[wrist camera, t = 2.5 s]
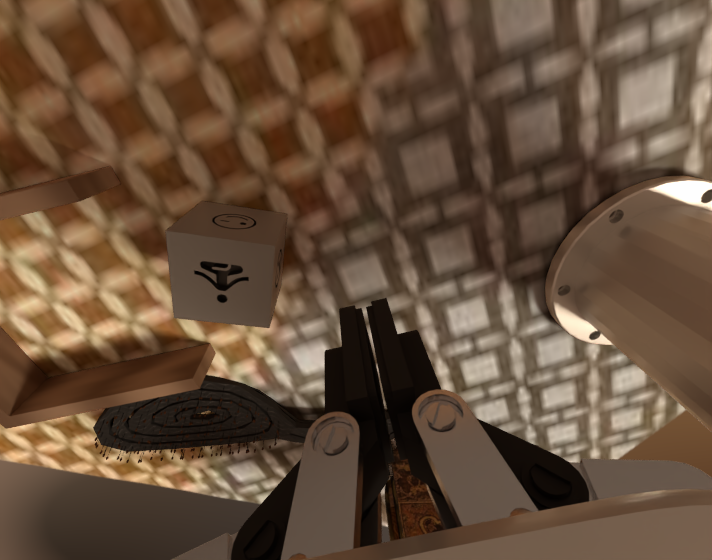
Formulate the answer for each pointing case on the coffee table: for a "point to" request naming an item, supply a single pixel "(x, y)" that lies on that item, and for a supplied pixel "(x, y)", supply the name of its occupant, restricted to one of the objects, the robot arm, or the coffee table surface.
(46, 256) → the coffee table surface
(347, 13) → the coffee table surface
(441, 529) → the book
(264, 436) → the hairbrush
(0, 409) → the box
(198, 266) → the dice cube
